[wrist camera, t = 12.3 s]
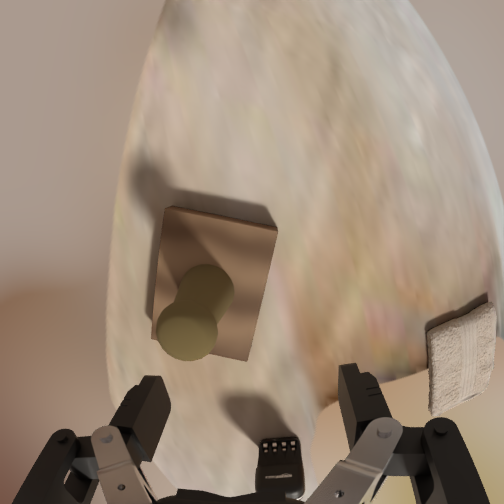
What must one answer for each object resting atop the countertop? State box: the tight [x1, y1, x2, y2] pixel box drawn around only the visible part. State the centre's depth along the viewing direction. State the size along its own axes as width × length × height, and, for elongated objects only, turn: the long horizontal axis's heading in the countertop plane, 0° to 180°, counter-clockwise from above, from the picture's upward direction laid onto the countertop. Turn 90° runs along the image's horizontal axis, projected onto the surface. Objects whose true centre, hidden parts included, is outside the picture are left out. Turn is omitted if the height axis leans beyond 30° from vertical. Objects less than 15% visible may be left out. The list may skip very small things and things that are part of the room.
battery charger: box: [255, 437, 305, 500], centre depth 37 cm, size 7×4×11 cm, turn 97°
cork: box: [156, 264, 235, 361], centre depth 29 cm, size 6×6×11 cm
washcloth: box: [427, 302, 497, 416], centre depth 37 cm, size 12×18×3 cm, turn 20°
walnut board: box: [151, 206, 278, 362], centre depth 35 cm, size 16×12×2 cm
